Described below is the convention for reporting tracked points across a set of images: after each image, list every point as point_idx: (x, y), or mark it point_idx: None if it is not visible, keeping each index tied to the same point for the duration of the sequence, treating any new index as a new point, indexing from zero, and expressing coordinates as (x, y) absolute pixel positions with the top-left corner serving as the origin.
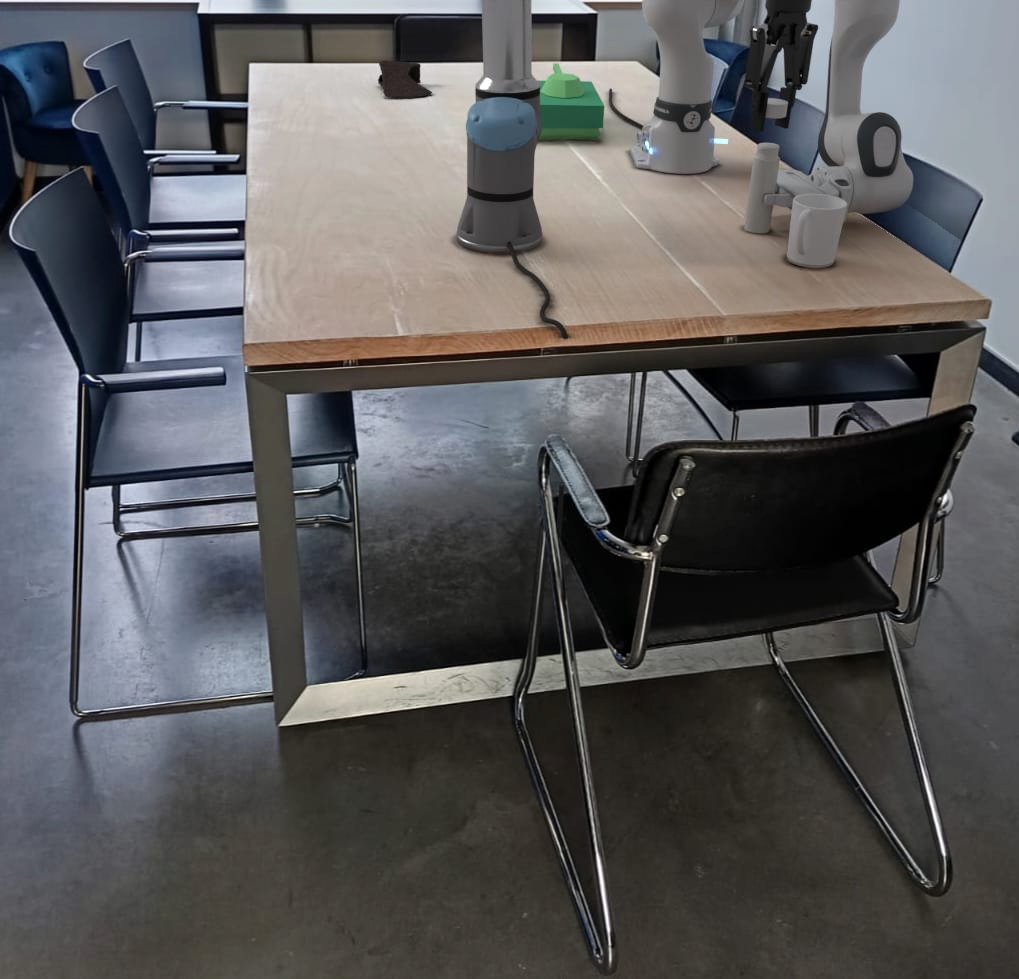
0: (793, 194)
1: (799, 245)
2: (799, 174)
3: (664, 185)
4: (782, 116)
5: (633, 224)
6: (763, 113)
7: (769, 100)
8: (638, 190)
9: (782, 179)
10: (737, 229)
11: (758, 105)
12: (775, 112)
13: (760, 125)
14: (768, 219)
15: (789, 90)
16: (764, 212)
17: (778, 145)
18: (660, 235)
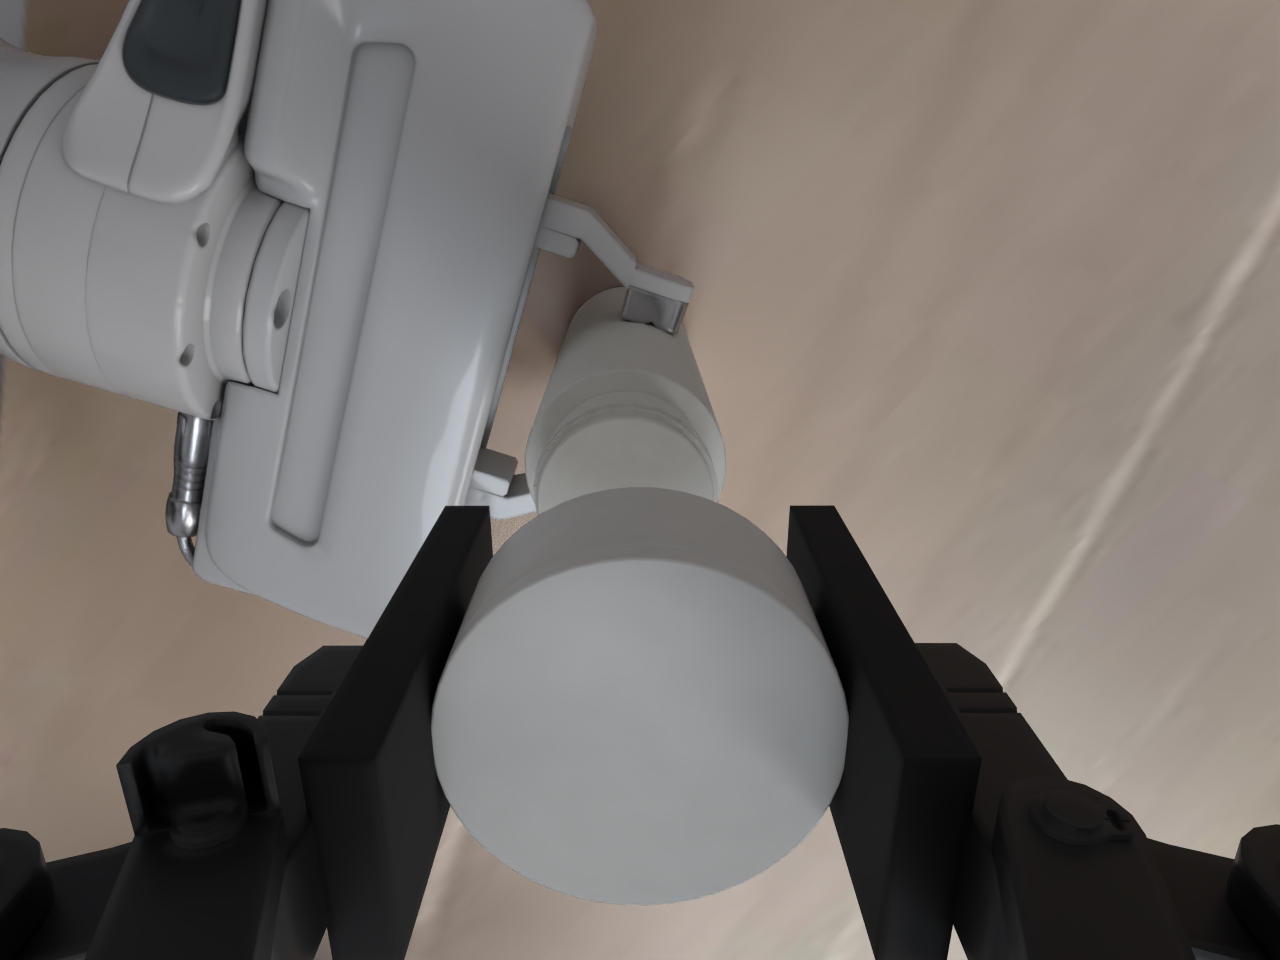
0: (547, 192)
1: None
2: (262, 476)
3: (591, 945)
4: (619, 491)
5: (1057, 638)
6: (871, 590)
7: (651, 798)
8: (728, 936)
9: (438, 437)
10: (708, 392)
11: (963, 684)
12: (733, 536)
13: (846, 536)
14: (615, 297)
15: (381, 789)
16: None
17: (554, 457)
18: (1072, 480)
